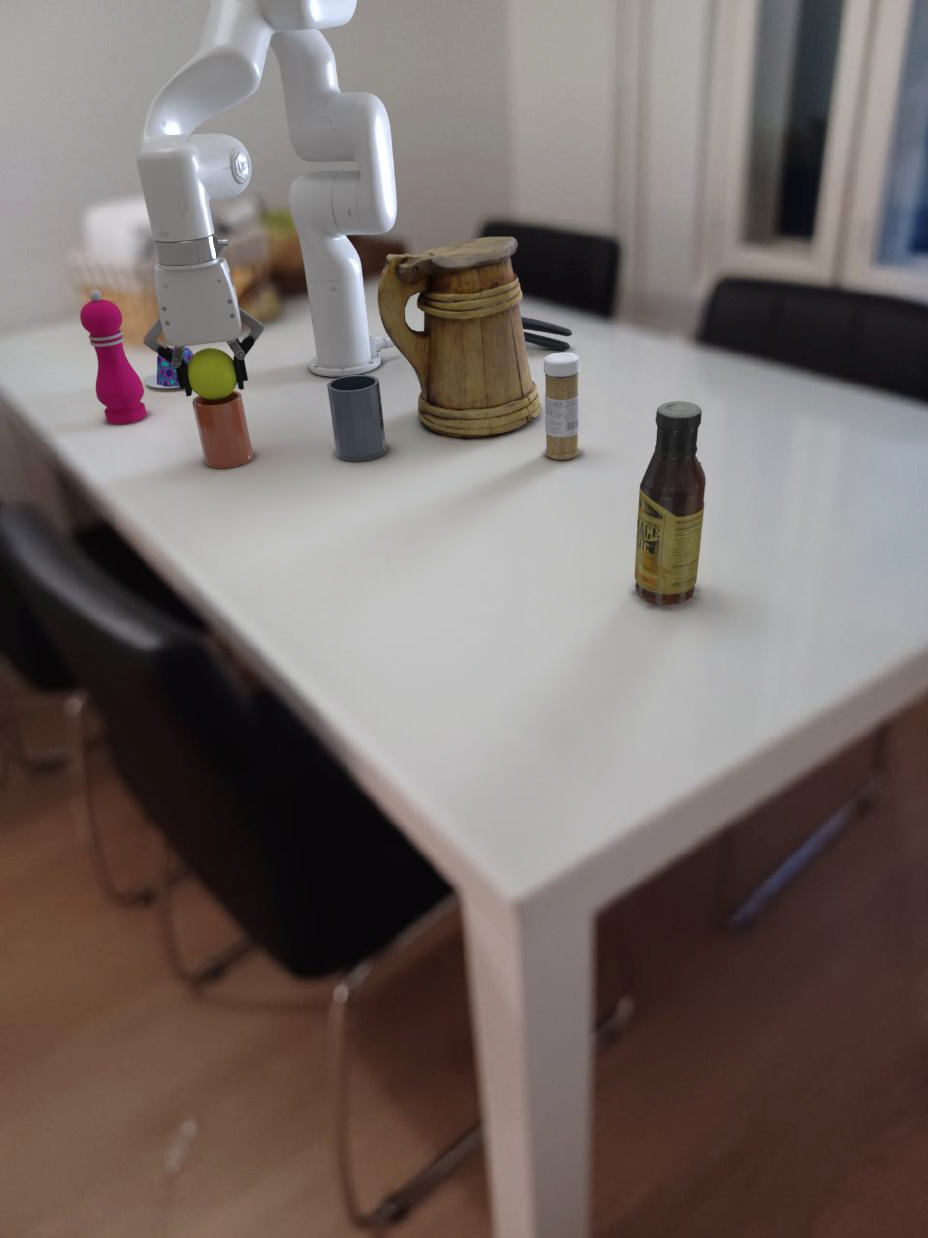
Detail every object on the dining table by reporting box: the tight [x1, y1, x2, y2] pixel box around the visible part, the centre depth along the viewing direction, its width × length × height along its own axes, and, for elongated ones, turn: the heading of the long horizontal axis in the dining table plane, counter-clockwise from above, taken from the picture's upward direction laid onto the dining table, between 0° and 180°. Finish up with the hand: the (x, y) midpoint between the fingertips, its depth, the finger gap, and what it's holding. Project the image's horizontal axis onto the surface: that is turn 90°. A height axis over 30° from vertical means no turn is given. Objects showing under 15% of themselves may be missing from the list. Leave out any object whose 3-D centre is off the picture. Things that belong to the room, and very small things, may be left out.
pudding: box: [144, 347, 194, 389], centre depth 167 cm, size 12×12×5 cm
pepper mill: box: [79, 289, 148, 426], centre depth 148 cm, size 7×7×20 cm
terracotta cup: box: [191, 390, 254, 469], centre depth 133 cm, size 7×7×9 cm
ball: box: [187, 347, 238, 400], centre depth 129 cm, size 7×7×7 cm
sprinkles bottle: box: [543, 352, 580, 461], centre depth 126 cm, size 5×5×13 cm
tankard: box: [377, 236, 542, 438], centre depth 137 cm, size 18×24×25 cm
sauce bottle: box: [633, 400, 707, 606], centre depth 92 cm, size 7×6×20 cm
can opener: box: [521, 316, 573, 351], centre depth 172 cm, size 18×7×6 cm, turn 58°
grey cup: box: [326, 374, 387, 463], centre depth 132 cm, size 7×7×10 cm
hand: (215, 388), depth 130 cm, fingers closed on ball, 6 cm apart
